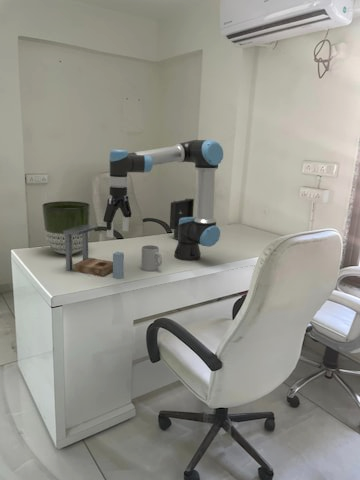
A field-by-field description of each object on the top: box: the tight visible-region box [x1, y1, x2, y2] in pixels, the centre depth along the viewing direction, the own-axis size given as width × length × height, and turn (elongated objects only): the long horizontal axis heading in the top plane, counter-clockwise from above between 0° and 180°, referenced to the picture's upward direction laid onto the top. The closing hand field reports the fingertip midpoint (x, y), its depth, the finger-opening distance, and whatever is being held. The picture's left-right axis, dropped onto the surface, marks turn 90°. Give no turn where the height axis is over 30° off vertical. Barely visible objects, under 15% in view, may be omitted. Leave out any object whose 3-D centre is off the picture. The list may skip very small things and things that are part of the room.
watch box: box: [169, 198, 195, 239], centre depth 252 cm, size 26×28×24 cm
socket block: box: [73, 257, 113, 278], centre depth 177 cm, size 16×12×4 cm
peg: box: [112, 251, 125, 280], centre depth 168 cm, size 4×4×12 cm
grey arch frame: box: [63, 224, 99, 272], centre depth 177 cm, size 8×16×20 cm, turn 159°
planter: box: [41, 200, 91, 255], centre depth 200 cm, size 24×24×27 cm
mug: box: [140, 244, 163, 272], centre depth 182 cm, size 12×8×11 cm
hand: (118, 234), depth 164 cm, fingers open, 13 cm apart
